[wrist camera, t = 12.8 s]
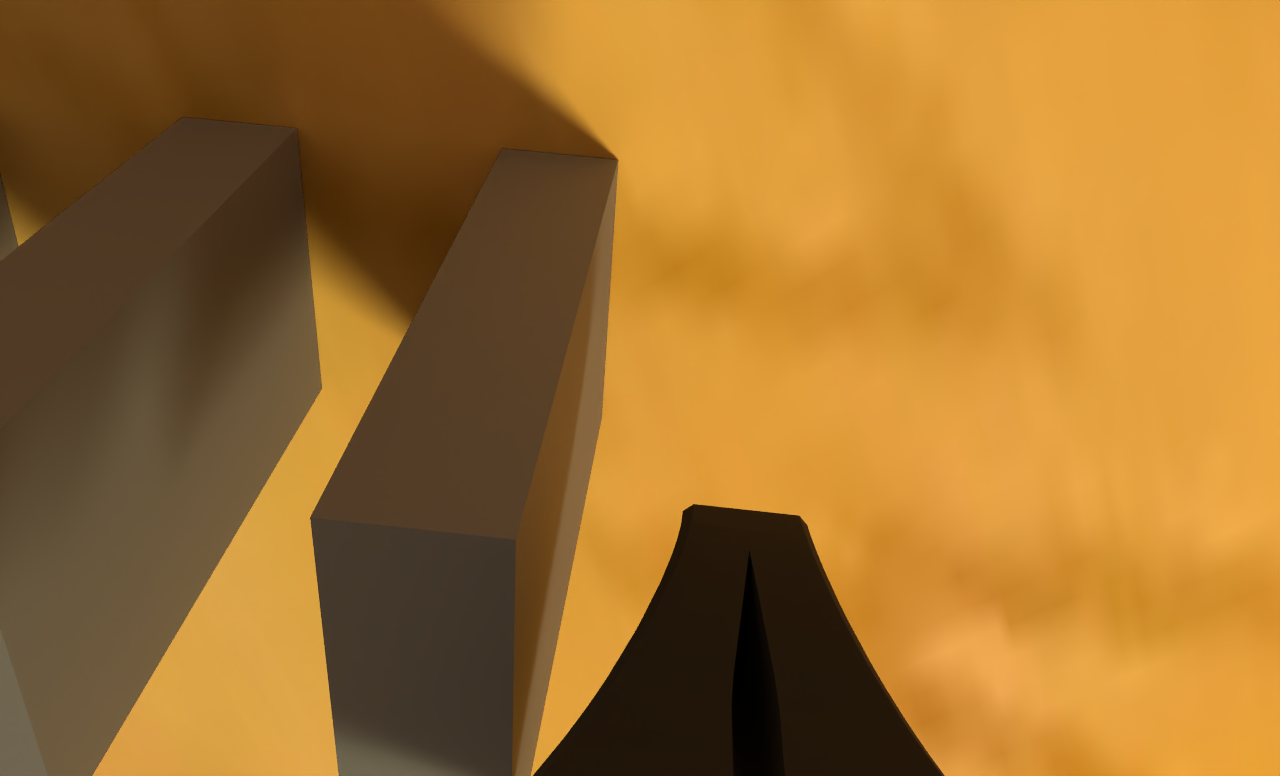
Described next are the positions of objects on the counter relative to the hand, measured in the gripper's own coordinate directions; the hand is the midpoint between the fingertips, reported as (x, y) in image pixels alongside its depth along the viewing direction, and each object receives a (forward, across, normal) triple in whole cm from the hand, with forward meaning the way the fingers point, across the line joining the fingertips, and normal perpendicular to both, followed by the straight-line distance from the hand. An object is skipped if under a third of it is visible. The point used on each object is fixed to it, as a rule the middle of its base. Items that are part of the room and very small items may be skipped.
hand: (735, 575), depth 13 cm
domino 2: (+6, +3, 0) cm, 7 cm away
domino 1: (+6, +8, 0) cm, 10 cm away
